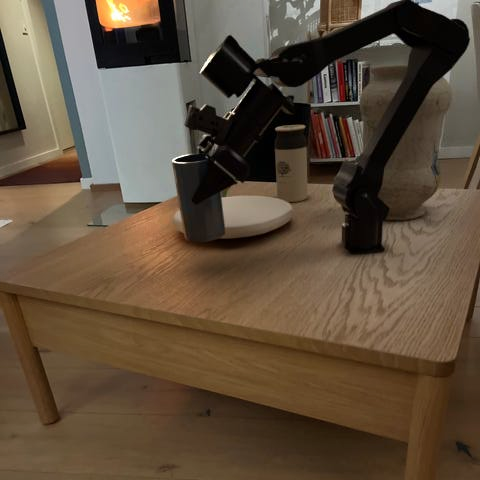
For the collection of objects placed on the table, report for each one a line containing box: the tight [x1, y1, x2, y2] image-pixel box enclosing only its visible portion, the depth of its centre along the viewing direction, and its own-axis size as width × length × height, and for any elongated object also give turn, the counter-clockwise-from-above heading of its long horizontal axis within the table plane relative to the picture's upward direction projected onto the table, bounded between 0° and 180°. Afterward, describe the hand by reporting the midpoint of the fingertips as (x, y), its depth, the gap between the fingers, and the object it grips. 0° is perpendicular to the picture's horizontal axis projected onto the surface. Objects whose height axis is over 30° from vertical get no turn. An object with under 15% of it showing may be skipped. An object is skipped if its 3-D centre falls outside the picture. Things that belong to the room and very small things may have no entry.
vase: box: [358, 63, 453, 221], centre depth 101 cm, size 18×18×30 cm
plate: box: [172, 195, 294, 239], centre depth 106 cm, size 28×6×27 cm
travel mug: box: [274, 124, 308, 203], centre depth 122 cm, size 8×8×18 cm
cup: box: [171, 152, 226, 243], centre depth 80 cm, size 7×7×13 cm
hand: (191, 197), depth 79 cm, fingers closed on cup, 7 cm apart
